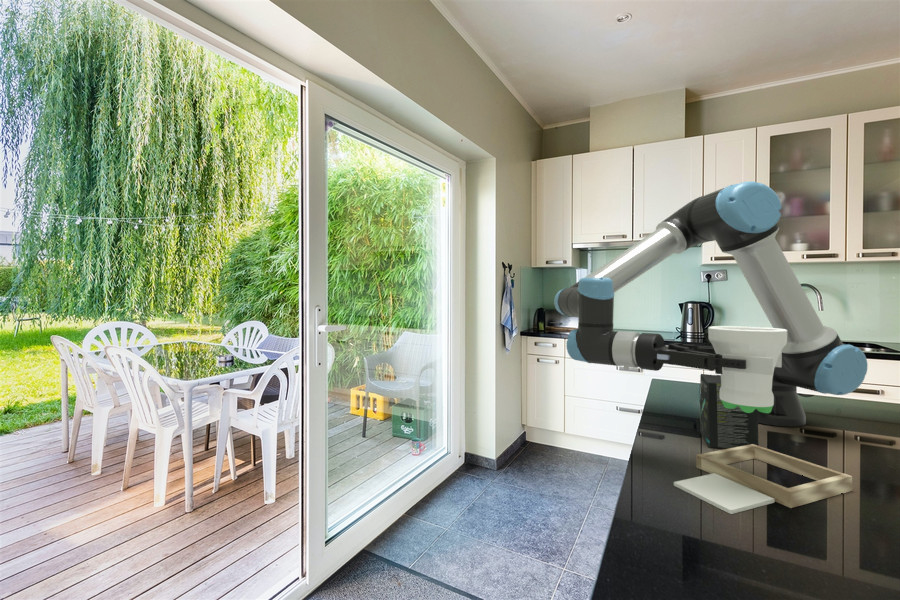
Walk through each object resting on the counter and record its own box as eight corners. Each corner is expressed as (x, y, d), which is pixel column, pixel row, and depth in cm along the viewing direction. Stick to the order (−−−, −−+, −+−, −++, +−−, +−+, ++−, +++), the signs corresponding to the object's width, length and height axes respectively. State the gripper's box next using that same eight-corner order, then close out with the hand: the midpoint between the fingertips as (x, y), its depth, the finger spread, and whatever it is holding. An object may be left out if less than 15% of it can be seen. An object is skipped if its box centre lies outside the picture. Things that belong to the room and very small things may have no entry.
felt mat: (714, 476, 73) (714, 473, 73) (774, 502, 64) (774, 498, 64) (673, 485, 70) (673, 482, 70) (730, 514, 60) (730, 510, 60)
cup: (695, 399, 76) (695, 325, 76) (754, 400, 76) (755, 326, 76) (735, 417, 65) (735, 330, 65) (805, 418, 64) (805, 330, 64)
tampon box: (759, 454, 83) (759, 384, 83) (708, 448, 87) (707, 381, 87) (745, 437, 93) (745, 375, 93) (699, 432, 97) (699, 372, 97)
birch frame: (752, 456, 82) (752, 444, 82) (852, 490, 67) (852, 476, 67) (696, 467, 77) (696, 454, 77) (790, 508, 62) (790, 492, 62)
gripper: (658, 362, 91) (785, 376, 75) (617, 375, 75) (766, 396, 59) (658, 329, 91) (785, 336, 75) (617, 336, 75) (766, 346, 59)
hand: (777, 362), depth 67 cm, fingers closed on cup, 10 cm apart
